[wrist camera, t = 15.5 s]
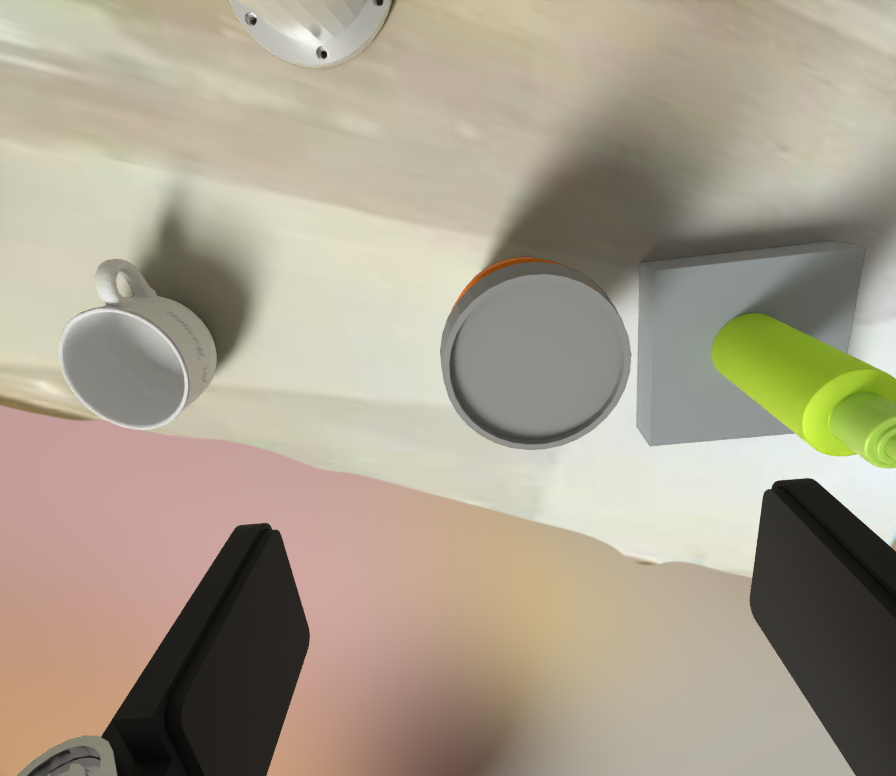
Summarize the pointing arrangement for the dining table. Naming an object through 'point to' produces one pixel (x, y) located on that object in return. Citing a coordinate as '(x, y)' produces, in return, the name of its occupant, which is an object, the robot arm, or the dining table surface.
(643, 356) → the stand
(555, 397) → the reusable coffee cup
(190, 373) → the teacup
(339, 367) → the dining table surface
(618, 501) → the dining table surface
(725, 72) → the dining table surface
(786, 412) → the soap dispenser
